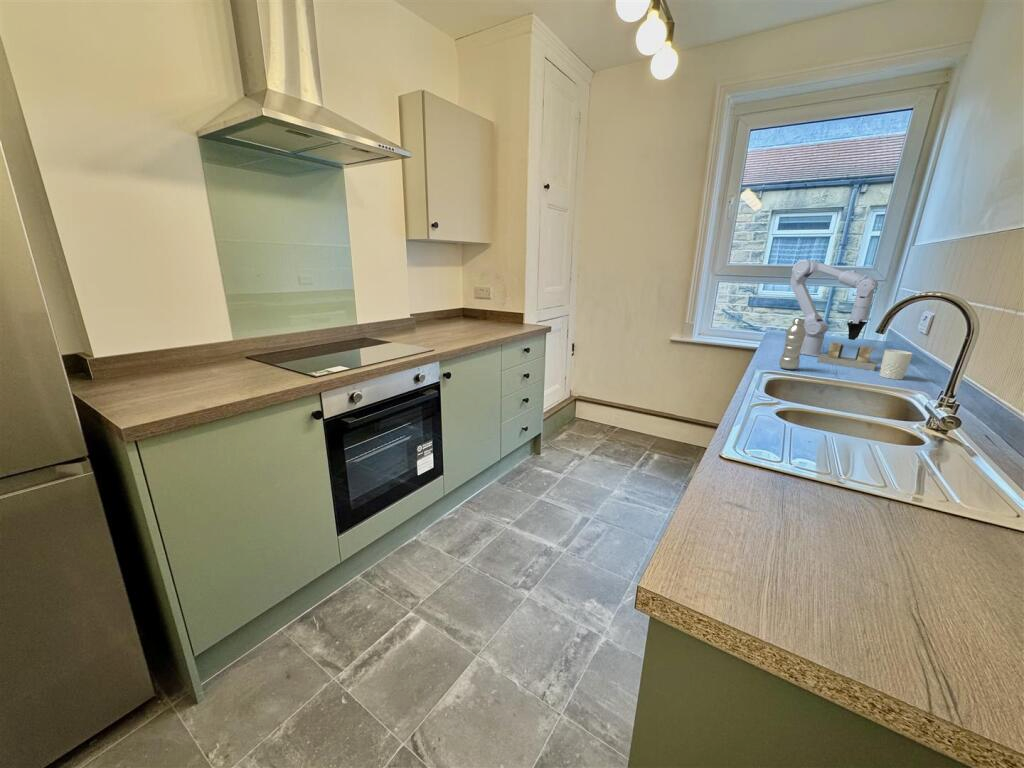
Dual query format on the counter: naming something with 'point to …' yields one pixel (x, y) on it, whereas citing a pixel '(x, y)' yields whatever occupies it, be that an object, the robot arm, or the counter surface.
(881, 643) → the counter surface
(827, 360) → the rail
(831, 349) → the loose finger
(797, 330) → the plastic bottle
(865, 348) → the tan upright block
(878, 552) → the counter surface
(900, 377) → the white cup
